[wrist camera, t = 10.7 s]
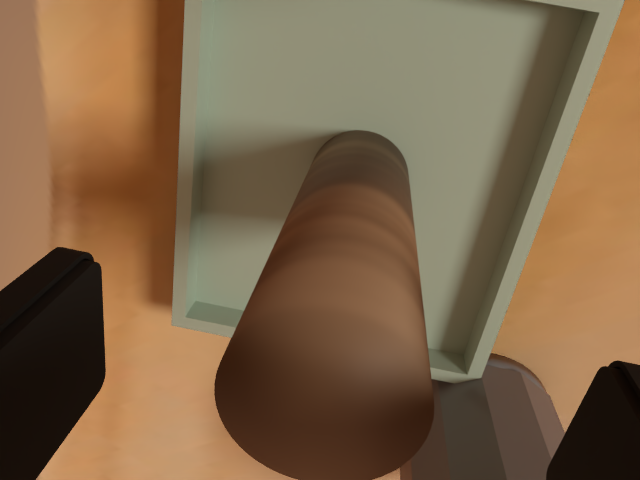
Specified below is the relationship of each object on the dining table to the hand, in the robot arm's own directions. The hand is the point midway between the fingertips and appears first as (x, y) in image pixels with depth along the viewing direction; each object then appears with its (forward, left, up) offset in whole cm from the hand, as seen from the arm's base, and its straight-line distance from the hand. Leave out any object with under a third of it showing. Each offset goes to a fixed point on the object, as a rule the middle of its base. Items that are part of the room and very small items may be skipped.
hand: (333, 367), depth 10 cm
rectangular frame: (0, 0, -13) cm, 13 cm away
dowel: (0, 0, -12) cm, 12 cm away
